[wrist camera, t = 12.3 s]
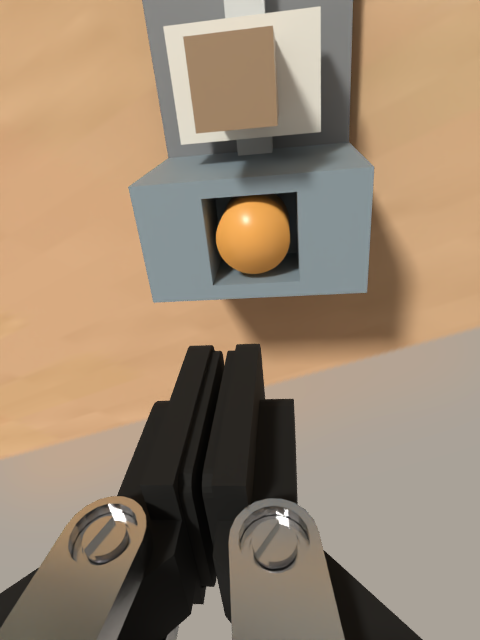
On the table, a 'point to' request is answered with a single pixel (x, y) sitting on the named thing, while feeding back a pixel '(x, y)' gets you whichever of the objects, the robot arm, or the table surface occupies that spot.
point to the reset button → (254, 233)
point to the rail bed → (257, 179)
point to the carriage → (246, 76)
